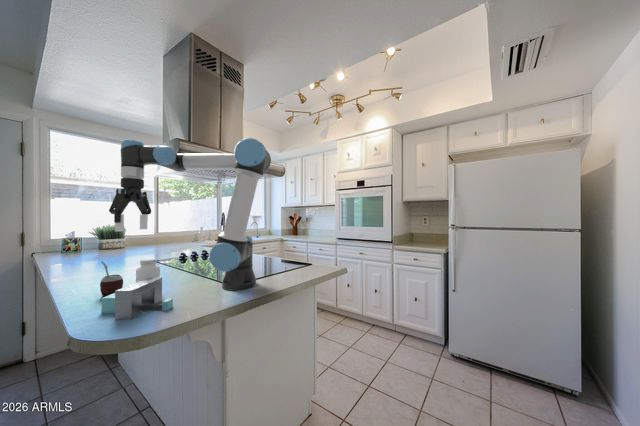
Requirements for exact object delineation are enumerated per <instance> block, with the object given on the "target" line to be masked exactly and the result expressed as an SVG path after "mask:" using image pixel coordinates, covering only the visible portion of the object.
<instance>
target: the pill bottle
mask: <svg viewBox="0 0 640 426" xmlns="http://www.w3.org/2000/svg"><path fill="white" fill-rule="evenodd" d="M139 264H140V266H138V267H137V268H136V270H135V283H136V282H139V281H141V280H144V279H147V278H161V268H160V266H159V265H158V264H157V259H156V258H153V257H150V258H149V257H148V258H142V259H140V261H139Z"/></svg>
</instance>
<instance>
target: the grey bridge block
mask: <svg viewBox="0 0 640 426" xmlns="http://www.w3.org/2000/svg"><path fill="white" fill-rule="evenodd" d="M162 302H163V277H160V278H147V279H144V280H141V281H139V282H136V281H135V283H131V284H129V285H126V286H123V288H121V289H119V290H116V291H115V313H114V320H133V319H134V318H135V317H137V316H139V315H141V314H142V310H141V304H160V303H162Z"/></svg>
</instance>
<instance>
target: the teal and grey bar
mask: <svg viewBox="0 0 640 426" xmlns="http://www.w3.org/2000/svg"><path fill="white" fill-rule="evenodd" d="M173 307H174V299H173V298H166V299H164V300H162V301H161V303H158V304H141V311H155V310H156V311H169V310H171V309H173ZM100 313H101V314H115V293H113V294H111V295H108V296H106V297H103V298H102V297H101V311H100Z"/></svg>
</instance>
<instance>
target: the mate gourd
mask: <svg viewBox="0 0 640 426" xmlns="http://www.w3.org/2000/svg"><path fill="white" fill-rule="evenodd" d="M101 264H102V265H103V266H104V269H105V273H106V276H103V277H102V279H101V280H100V283H99V286H100V287H99V288H100V289H99V290H100V293H101V299H102V298H103V297H106V296H108V295H111V294H113V293H115V291H116V290H119V289H121V288H124V278H123V276H122V275H120V274H110V275H109V270H108V266H107V264H106V263H105V262H103V261H101Z"/></svg>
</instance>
